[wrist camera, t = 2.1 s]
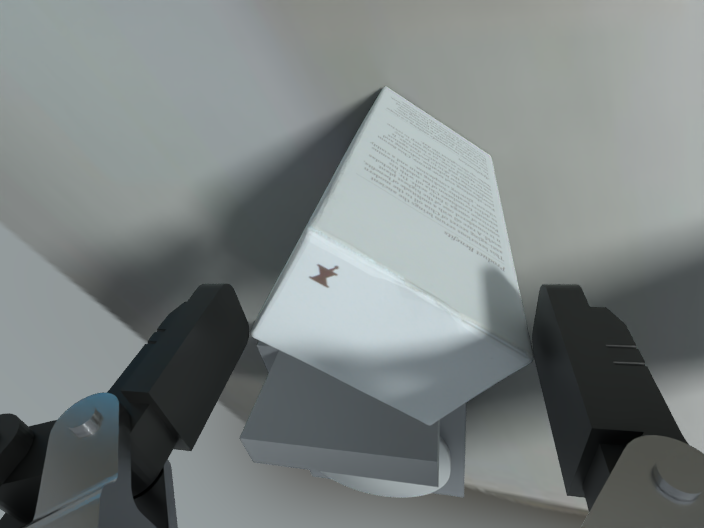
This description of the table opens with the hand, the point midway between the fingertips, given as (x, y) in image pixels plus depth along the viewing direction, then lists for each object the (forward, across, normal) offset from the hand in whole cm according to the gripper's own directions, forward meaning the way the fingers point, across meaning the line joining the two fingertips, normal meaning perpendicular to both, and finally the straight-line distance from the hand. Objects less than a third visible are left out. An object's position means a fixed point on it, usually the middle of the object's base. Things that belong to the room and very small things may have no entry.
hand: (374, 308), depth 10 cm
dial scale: (+11, +3, +19) cm, 22 cm away
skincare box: (+11, 0, 0) cm, 11 cm away
